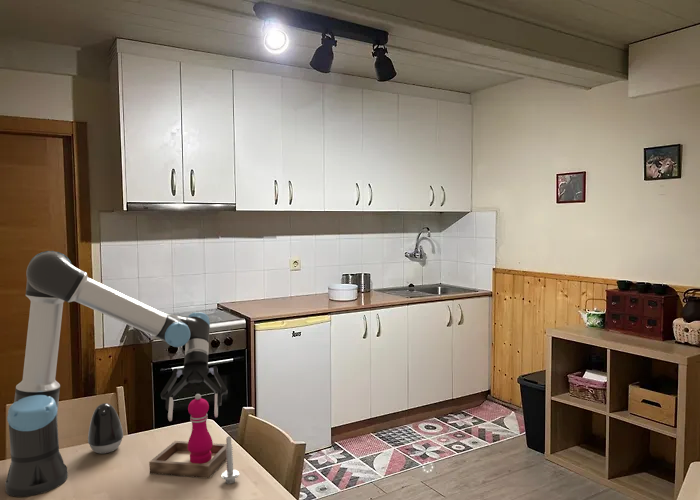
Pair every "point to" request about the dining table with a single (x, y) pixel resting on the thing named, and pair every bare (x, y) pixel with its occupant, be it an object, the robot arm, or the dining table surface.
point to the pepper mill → (199, 431)
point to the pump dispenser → (105, 429)
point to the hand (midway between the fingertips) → (193, 417)
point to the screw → (229, 464)
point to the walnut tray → (186, 461)
